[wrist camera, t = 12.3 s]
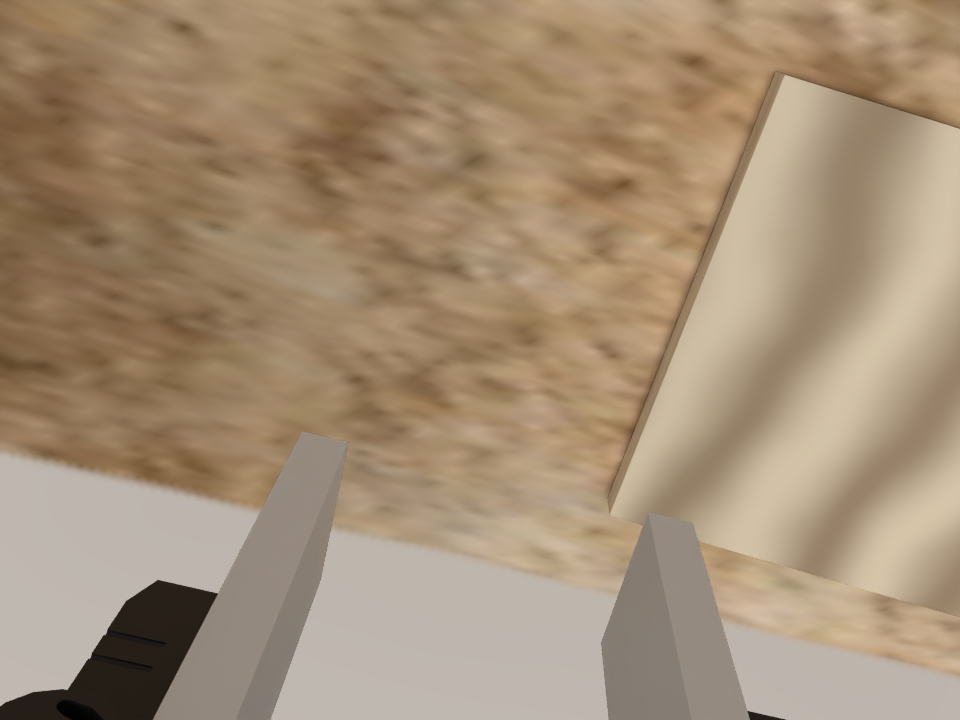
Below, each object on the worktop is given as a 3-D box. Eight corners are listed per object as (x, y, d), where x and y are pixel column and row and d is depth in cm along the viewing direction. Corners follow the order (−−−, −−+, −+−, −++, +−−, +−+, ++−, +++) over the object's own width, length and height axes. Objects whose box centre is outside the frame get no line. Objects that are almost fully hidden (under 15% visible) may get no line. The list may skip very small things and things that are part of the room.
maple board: (607, 497, 41) (609, 515, 40) (775, 71, 34) (784, 74, 33) (1028, 620, 42) (1044, 641, 40) (1280, 227, 35) (1310, 237, 33)
